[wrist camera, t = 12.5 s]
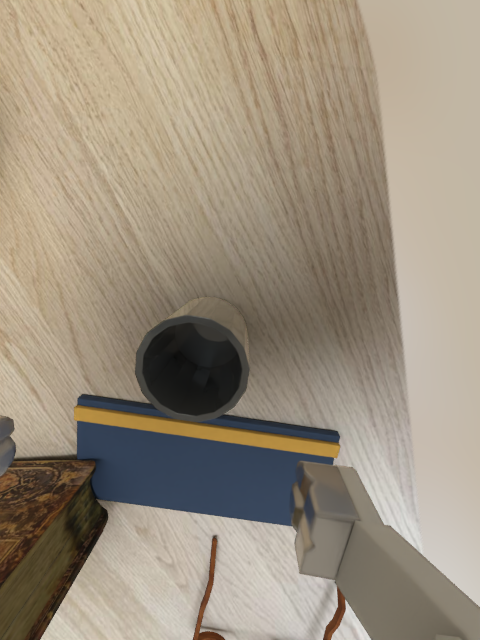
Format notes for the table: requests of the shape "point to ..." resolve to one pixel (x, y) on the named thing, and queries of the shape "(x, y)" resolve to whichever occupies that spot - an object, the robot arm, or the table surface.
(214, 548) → the glasses
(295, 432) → the towel
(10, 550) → the book
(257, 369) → the table surface
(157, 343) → the grey tumbler
